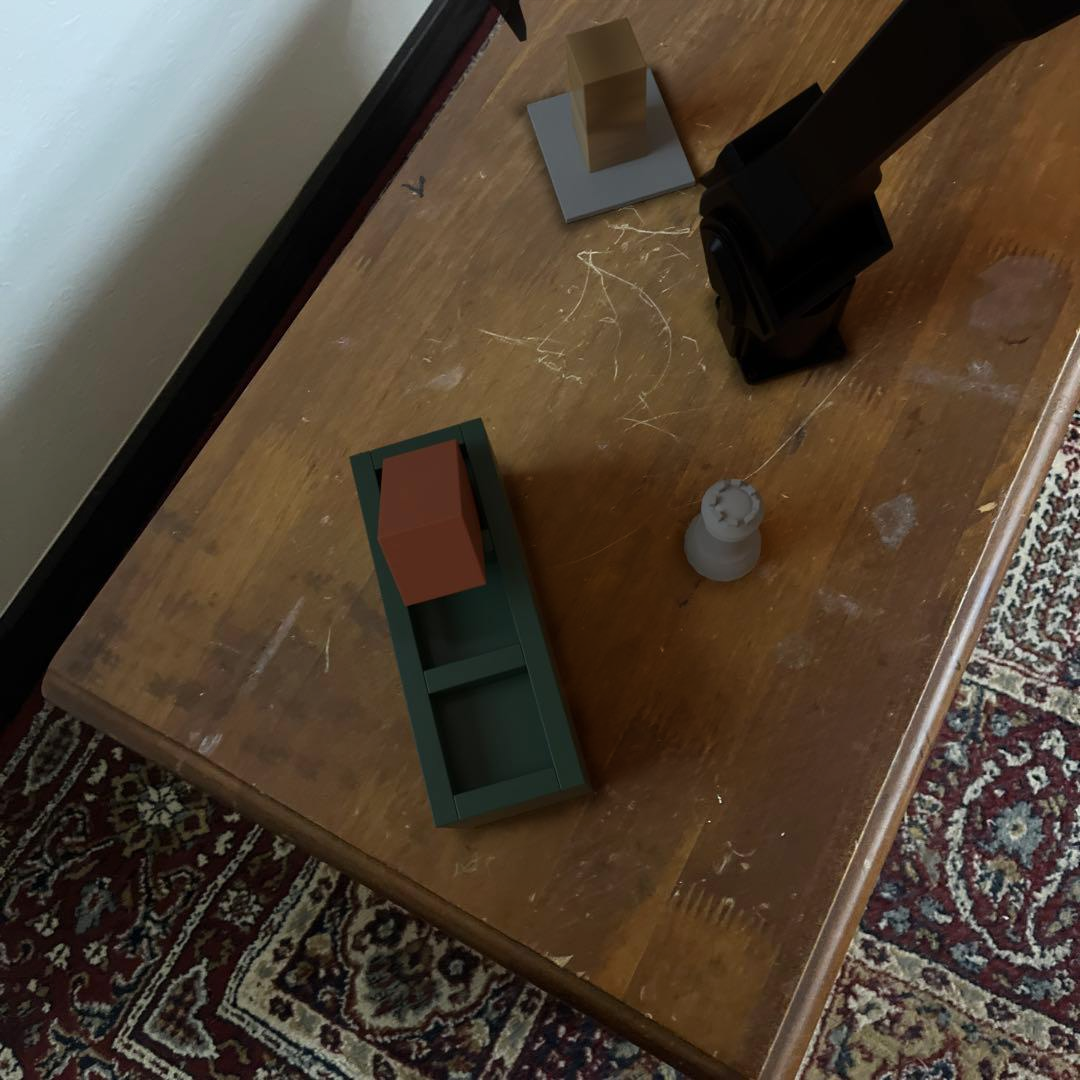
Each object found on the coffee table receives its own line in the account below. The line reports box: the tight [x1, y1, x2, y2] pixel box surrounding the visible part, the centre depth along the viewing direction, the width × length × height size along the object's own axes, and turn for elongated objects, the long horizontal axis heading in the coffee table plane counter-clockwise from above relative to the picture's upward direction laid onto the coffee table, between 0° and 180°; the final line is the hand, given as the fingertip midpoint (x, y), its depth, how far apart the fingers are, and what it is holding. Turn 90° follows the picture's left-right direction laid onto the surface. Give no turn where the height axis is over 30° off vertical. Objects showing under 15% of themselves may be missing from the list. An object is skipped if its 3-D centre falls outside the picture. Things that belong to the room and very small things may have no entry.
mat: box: [526, 67, 696, 224], centre depth 65 cm, size 9×10×1 cm
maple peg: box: [564, 16, 648, 173], centre depth 61 cm, size 4×4×8 cm
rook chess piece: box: [683, 478, 766, 583], centre depth 53 cm, size 4×4×8 cm
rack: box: [348, 417, 594, 830], centre depth 52 cm, size 7×20×8 cm, turn 16°
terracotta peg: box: [378, 439, 486, 606], centre depth 47 cm, size 4×4×8 cm
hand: (598, 12), depth 55 cm, fingers open, 9 cm apart
